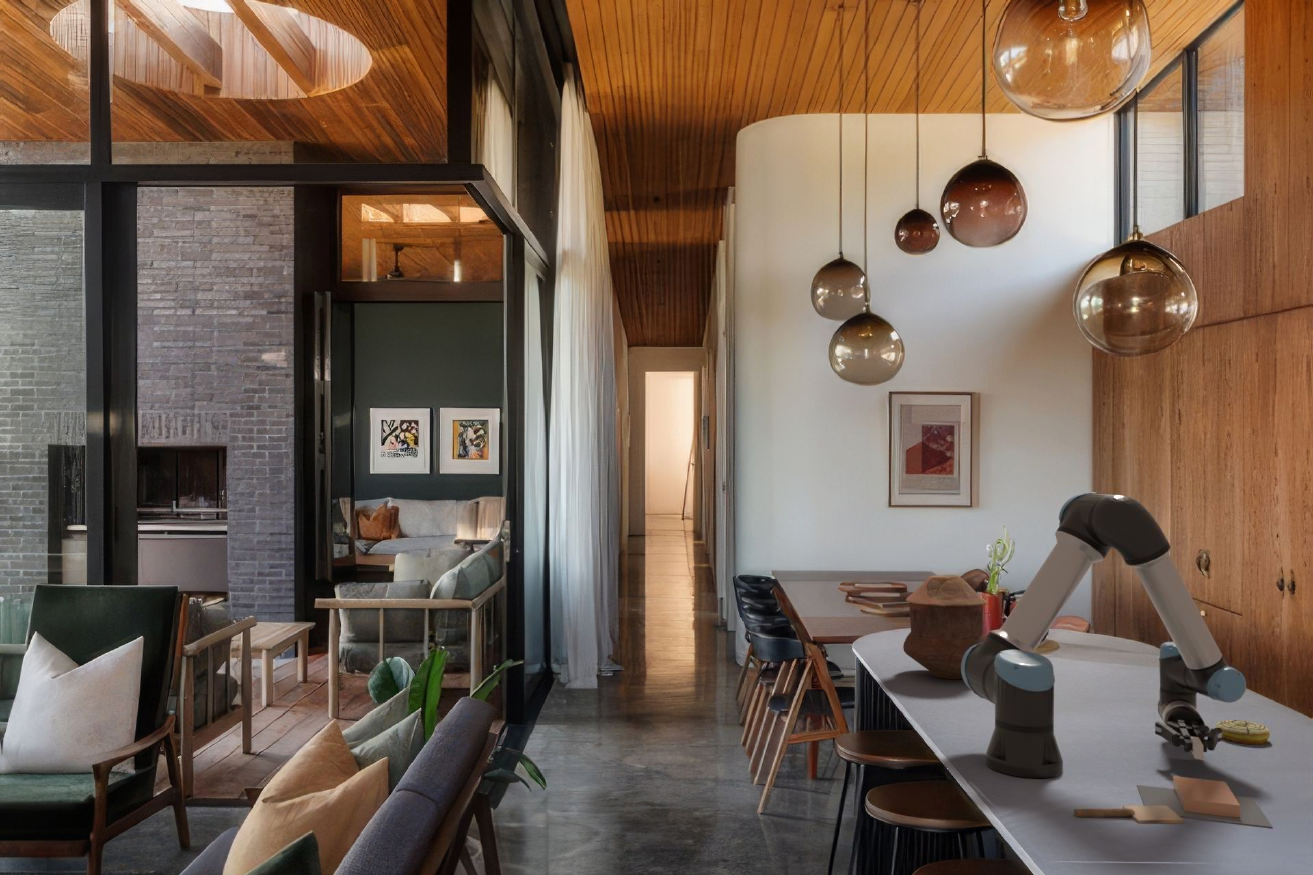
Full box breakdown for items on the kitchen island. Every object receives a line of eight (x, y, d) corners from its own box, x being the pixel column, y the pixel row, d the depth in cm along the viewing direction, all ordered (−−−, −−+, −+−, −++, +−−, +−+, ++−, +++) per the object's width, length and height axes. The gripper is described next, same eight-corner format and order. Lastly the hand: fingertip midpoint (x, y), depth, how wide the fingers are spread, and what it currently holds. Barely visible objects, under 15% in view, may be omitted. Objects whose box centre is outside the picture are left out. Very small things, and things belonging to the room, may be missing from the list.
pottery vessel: (1000, 688, 280) (1000, 581, 280) (907, 684, 284) (907, 579, 284) (984, 668, 305) (985, 571, 306) (899, 665, 309) (900, 569, 310)
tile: (1173, 787, 195) (1184, 811, 182) (1173, 775, 195) (1184, 798, 182) (1225, 793, 192) (1240, 817, 179) (1225, 781, 192) (1240, 805, 179)
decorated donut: (1233, 731, 238) (1233, 715, 238) (1279, 742, 229) (1279, 726, 229) (1206, 736, 234) (1206, 720, 234) (1251, 748, 224) (1251, 731, 224)
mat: (1146, 813, 181) (1146, 811, 181) (1137, 786, 196) (1137, 784, 196) (1272, 829, 174) (1272, 826, 174) (1252, 799, 189) (1252, 797, 189)
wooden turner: (1082, 824, 177) (1082, 816, 177) (1068, 809, 183) (1068, 802, 183) (1183, 822, 177) (1183, 815, 176) (1166, 808, 183) (1166, 801, 182)
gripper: (1217, 743, 215) (1237, 775, 193) (1150, 736, 220) (1162, 767, 198) (1217, 708, 215) (1236, 736, 193) (1150, 702, 220) (1162, 729, 198)
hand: (1199, 752), depth 196 cm, fingers closed
